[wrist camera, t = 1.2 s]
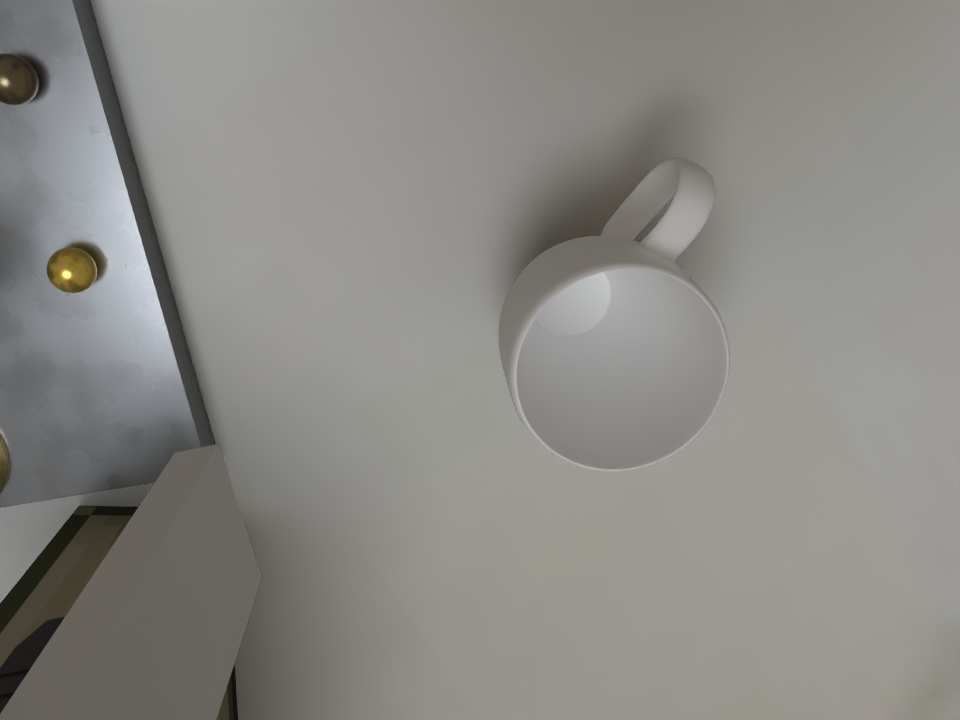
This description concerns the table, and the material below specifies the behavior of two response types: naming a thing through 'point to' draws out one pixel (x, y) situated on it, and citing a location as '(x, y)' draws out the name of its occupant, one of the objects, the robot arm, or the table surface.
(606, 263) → the mug
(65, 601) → the control panel
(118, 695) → the robot arm
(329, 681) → the table surface
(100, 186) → the panel
